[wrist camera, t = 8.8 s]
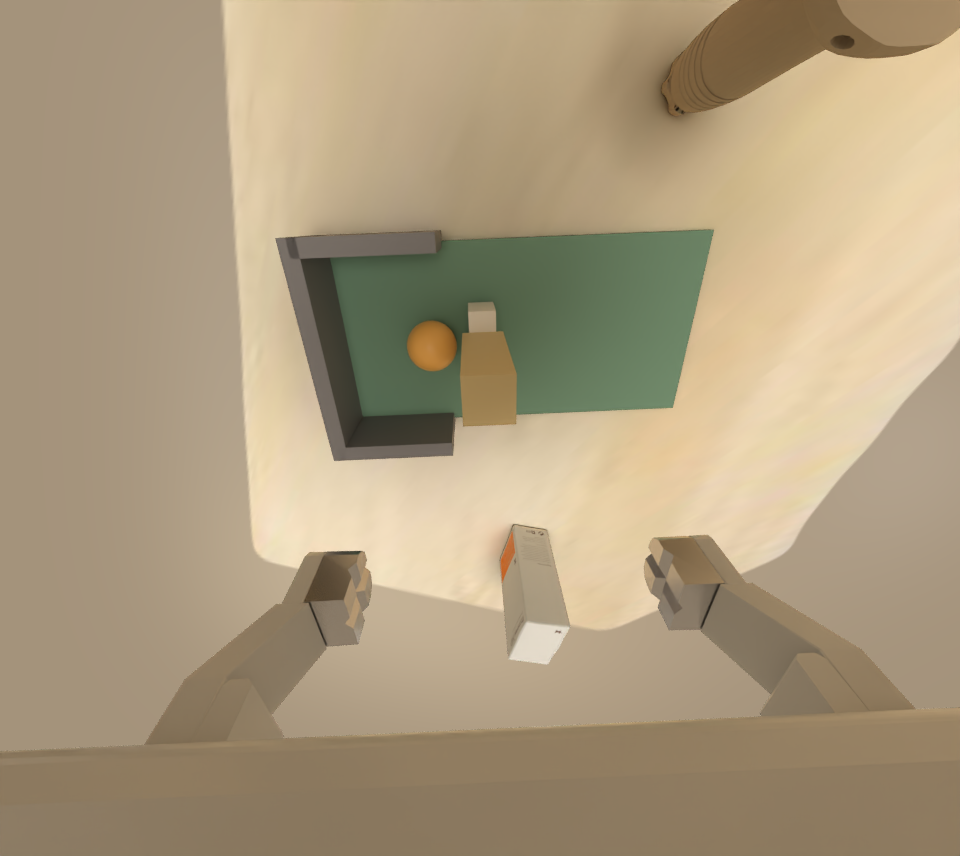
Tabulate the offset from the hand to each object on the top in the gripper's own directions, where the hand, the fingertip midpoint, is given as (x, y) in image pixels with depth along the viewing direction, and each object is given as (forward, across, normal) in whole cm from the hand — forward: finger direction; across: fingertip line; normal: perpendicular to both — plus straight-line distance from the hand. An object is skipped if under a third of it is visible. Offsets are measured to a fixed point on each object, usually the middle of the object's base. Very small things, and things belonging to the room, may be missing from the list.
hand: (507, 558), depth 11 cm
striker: (+25, 0, 0) cm, 25 cm away
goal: (+25, +7, 0) cm, 26 cm away
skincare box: (+24, -4, +25) cm, 36 cm away
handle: (+25, -14, -16) cm, 33 cm away
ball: (+22, +4, 0) cm, 23 cm away
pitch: (+25, -2, 0) cm, 25 cm away
